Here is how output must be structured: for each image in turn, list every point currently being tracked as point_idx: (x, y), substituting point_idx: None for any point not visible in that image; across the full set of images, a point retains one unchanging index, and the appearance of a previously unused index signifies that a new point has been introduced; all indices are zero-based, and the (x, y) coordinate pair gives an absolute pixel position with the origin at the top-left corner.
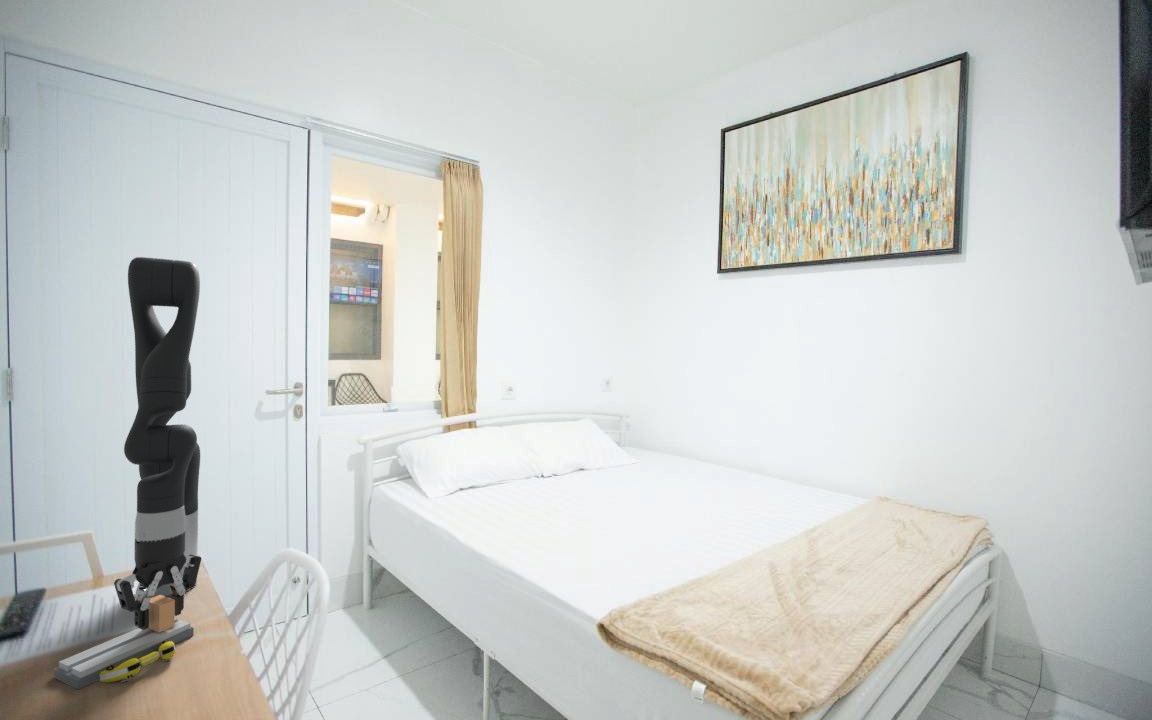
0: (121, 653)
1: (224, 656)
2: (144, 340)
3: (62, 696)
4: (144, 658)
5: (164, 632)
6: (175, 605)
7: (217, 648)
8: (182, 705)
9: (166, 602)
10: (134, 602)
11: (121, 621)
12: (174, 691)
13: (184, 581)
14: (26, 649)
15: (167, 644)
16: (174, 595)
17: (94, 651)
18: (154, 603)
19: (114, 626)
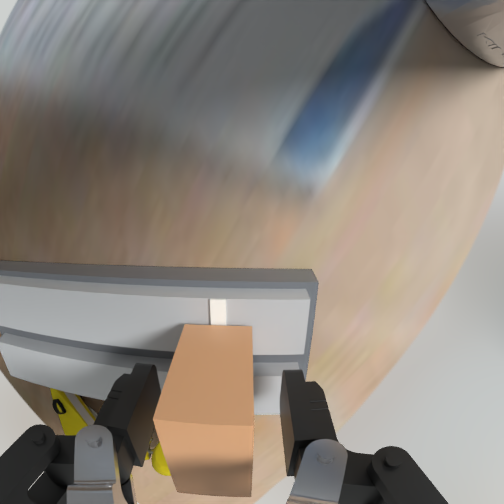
0: (82, 393)
1: (257, 482)
2: None
3: None
4: None
5: None
6: (284, 431)
7: (274, 461)
8: (142, 500)
9: (213, 493)
10: (64, 499)
11: (248, 39)
12: (146, 483)
13: (377, 490)
14: (23, 24)
15: (165, 475)
16: (297, 457)
17: (32, 318)
18: (172, 470)
19: (209, 57)
